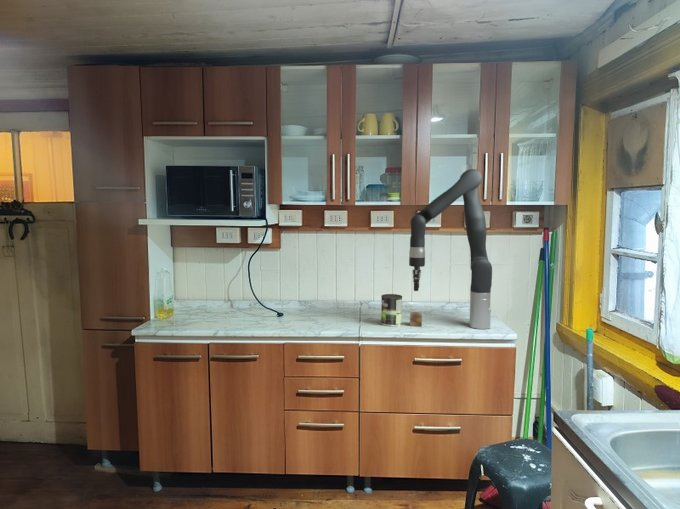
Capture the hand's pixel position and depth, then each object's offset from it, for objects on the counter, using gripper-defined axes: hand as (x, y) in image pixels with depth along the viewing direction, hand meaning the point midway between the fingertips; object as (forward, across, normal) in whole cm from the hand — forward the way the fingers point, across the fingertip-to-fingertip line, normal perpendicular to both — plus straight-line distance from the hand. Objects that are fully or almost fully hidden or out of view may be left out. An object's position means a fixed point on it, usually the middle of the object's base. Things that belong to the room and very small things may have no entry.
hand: (416, 289), depth 205 cm
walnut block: (+18, 0, 0) cm, 18 cm away
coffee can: (+18, 0, +12) cm, 22 cm away
